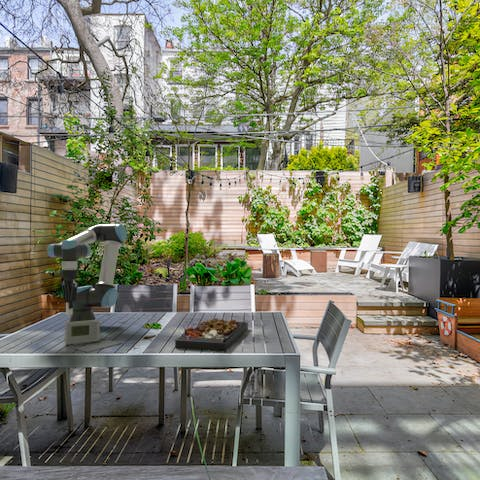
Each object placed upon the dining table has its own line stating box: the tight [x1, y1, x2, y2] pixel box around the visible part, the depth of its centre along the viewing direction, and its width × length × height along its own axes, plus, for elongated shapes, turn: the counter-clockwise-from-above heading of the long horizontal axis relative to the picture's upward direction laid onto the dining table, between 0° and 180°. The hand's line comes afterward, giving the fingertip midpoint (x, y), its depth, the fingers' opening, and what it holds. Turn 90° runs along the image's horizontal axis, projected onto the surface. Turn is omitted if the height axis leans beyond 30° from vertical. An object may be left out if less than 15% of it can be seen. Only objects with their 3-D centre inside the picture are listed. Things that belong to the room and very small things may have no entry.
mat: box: [75, 339, 122, 353], centre depth 177 cm, size 10×18×1 cm, turn 145°
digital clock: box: [64, 319, 101, 346], centre depth 184 cm, size 16×9×11 cm, turn 102°
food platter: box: [174, 317, 249, 352], centre depth 192 cm, size 45×25×10 cm, turn 166°
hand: (69, 314), depth 191 cm, fingers closed
